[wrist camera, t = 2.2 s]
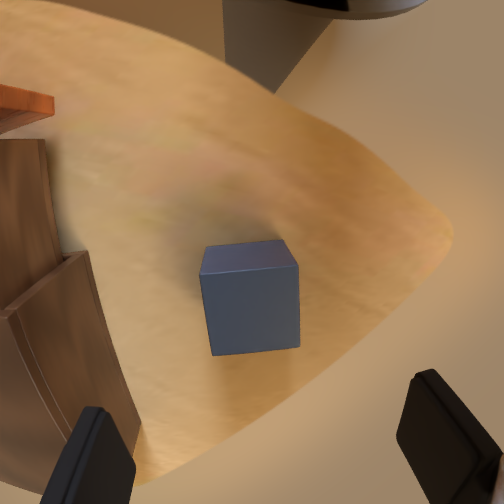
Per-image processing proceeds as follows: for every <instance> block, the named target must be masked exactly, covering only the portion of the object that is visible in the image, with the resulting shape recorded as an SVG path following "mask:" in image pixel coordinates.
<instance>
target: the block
mask: <svg viewBox="0 0 504 504" xmlns="http://www.w3.org/2000/svg"><path fill="white" fill-rule="evenodd" d="M199 278H200V284H201V291H202V298H203V304H204V310H205V317H206V323H207V329H208V335H209V341H210V346H211V352H212V356H221V355H233V354H244V353H254V352H263V351H272V350H281V349H289V348H297V347H300V302H299V269H298V264H297V262H296V261H295V259H294V257H293V256H292V254H291V252H290V250H289V249H288V247H287V245H286V244H285V242H284V240H272V241H262V242H251V243H241V244H230V245H220V246H210V247H206V250H205V254H204V258H203V262H202V266H201V270H200V274H199Z"/></svg>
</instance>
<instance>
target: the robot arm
mask: <svg viewBox="0 0 504 504" xmlns="http://www.w3.org/2000/svg"><path fill="white" fill-rule="evenodd" d="M396 439H397V442H398V444H399V446H400V448H401V450H402V452H403V454H404V455H405V457H406V459H407V461H408V463H409V465H410V466H411V468H412V470H413V472H414V474H415V476H416V478H417V480H418V482H419V484H420V486H421V487H422V489H423V491H424V493H425V495H426V497H427V499H428V501H429V503H430V504H504V453H503V452H502V451H501V449H500V448H499V446H498V445H497V444H496V442H495V441H494V440H493V439H492V438H491V436H490V435H489V434H488V432H487V431H486V430H485V429H484V427H483V426H482V425H481V424H480V422H479V421H478V420H477V419H476V418H475V416H474V415H473V414H472V413H471V412H470V410H469V409H468V408H467V407H466V406H465V404H464V403H463V402H462V401H461V400H460V398H459V397H458V396H457V395H456V394H455V392H454V391H453V390H452V389H451V388H450V387H449V385H448V384H447V383H446V382H445V381H444V380H443V378H442V377H441V376H440V375H439V374H438V373H437V371H436V370H434V369H428V370H425V371H422V372H418V373H416V374H415V376H414V378H413V379H411V381H410V385H409V389H408V393H407V397H406V401H405V405H404V409H403V412H402V416H401V419H400V423H399V426H398V430H397V434H396ZM135 474H136V465H135V462H134V460H133V458H132V456H131V454H130V453H129V451H128V449H127V447H126V445H125V443H124V441H123V439H122V437H121V435H120V433H119V431H118V429H117V427H116V424H115V422H114V420H113V418H112V416H111V414H110V413H109V412H106V410H105V409H104V408H103V407H94V406H85V407H84V409H83V410H82V412H81V414H80V417H79V419H78V421H77V423H76V425H75V427H74V429H73V431H72V433H71V436H70V438H69V440H68V442H67V444H66V445H65V446H64V448H63V450H62V452H61V454H60V457H59V459H58V461H57V463H56V466H55V468H54V470H53V472H52V475H51V477H50V479H49V482H48V484H47V487H46V489H45V491H44V494H43V496H42V499H41V501H40V504H129V501H130V496H131V492H132V487H133V483H134V478H135Z"/></svg>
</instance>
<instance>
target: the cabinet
mask: <svg viewBox="0 0 504 504" xmlns="http://www.w3.org/2000/svg"><path fill="white" fill-rule="evenodd" d="M62 257H63V263H62V264H60V265H59V266H58V267H56V268H55V269H54V270H52V271H51V272H50V273H48V274H47V275H46V276H44V277H43V278H42V279H41V280H39V281H38V282H37V283H36V284H34V285H33V286H32V287H30V288H29V289H28V290H27V291H25V292H24V293H23V294H22V295H21V296H19V297H18V298H17V299H16V300H14V301H13V302H12V303H11V304H10V305H8V306H7V307H6V308H5V309H4V310H0V481H3V482H5V483H8V484H11V485H13V486H16V487H19V488H22V489H25V490H28V491H31V492H34V493H37V494H41V495H43V494H44V491H45V489H46V487H47V484H48V482H49V479H50V477H51V475H52V472H53V470H54V468H55V466H56V463H57V461H58V459H59V457H60V454H61V452H62V450H63V448H64V446H65V445H66V444H67V442H68V440H69V438H70V436H71V433H72V431H73V429H74V427H75V425H76V423H77V421H78V419H79V417H80V414H81V412H82V410H83V409H84V407H85V406H94V407H103V408H104V409H105V410H106V412H109V413H110V414H111V416H112V418H113V420H114V422H115V424H116V427H117V429H118V431H119V433H120V435H121V437H122V439H123V441H124V443H125V445H126V447H127V449H128V451H129V453H130V454H131V456H133V452H134V448H135V444H136V440H137V437H138V433H139V429H140V425H141V420H140V418H139V415H138V413H137V410H136V408H135V405H134V403H133V400H132V398H131V395H130V393H129V390H128V387H127V385H126V382H125V379H124V376H123V374H122V371H121V368H120V365H119V362H118V359H117V356H116V353H115V350H114V347H113V344H112V341H111V338H110V335H109V331H108V328H107V325H106V321H105V318H104V314H103V311H102V307H101V303H100V300H99V296H98V292H97V288H96V284H95V280H94V276H93V272H92V267H91V263H90V258H89V254H88V251H78V252H70V253H62Z"/></svg>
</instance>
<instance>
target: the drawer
mask: <svg viewBox="0 0 504 504" xmlns="http://www.w3.org/2000/svg"><path fill="white" fill-rule="evenodd" d="M53 115H55V108H54V97H53V96H49V95H45V94H41V93H37V92H33V91H29V90H25V89H20V88H16V87H11V86H7V85H2V84H0V134H2V133H5V132H7V131H10V130H13V129H15V128H18V127H21V126H23V125H26V124H29V123H32V122H35V121H38V120H41V119H44V118H47V117H50V116H53ZM62 263H63V257H62V253H61V248H60V244H59V239H58V234H57V229H56V224H55V218H54V213H53V207H52V200H51V194H50V187H49V179H48V171H47V162H46V151H45V140H44V139H0V310H4V309H5V308H6V307H7V306H8V305H10V304H11V303H12V302H13V301H14V300H16V299H17V298H18V297H19V296H21V295H22V294H23V293H24V292H25V291H27V290H28V289H29V288H30V287H32V286H33V285H34V284H36V283H37V282H38V281H39V280H41V279H42V278H43V277H44V276H46V275H47V274H48V273H50V272H51V271H52V270H54V269H55V268H56V267H58V266H59V265H60V264H62Z"/></svg>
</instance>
